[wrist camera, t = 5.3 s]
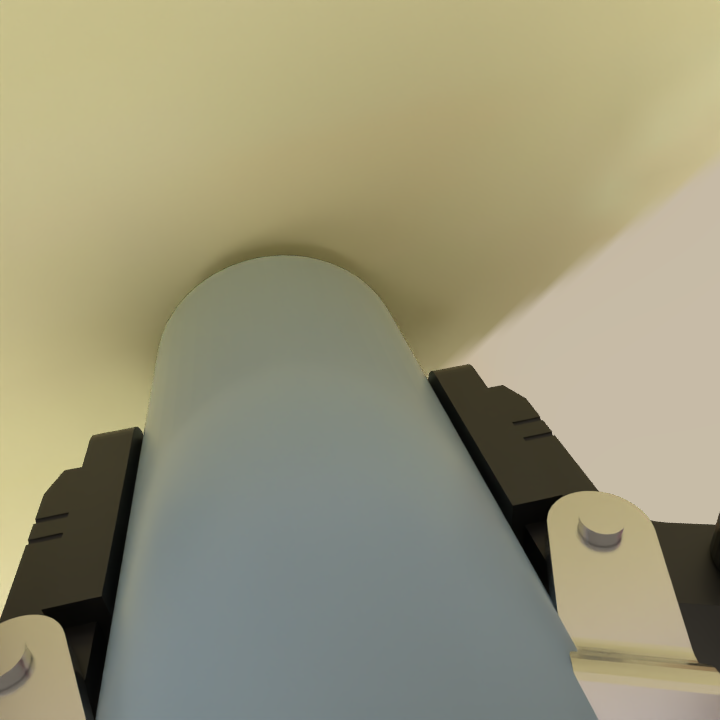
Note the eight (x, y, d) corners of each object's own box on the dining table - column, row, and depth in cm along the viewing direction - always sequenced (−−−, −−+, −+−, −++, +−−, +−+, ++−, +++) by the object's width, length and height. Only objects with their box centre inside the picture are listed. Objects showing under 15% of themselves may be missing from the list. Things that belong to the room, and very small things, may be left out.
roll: (124, 278, 11) (-333, 1653, 2) (392, 235, 12) (1050, 1100, 3) (189, 484, 14) (135, 1480, 5) (406, 440, 15) (751, 1234, 5)
